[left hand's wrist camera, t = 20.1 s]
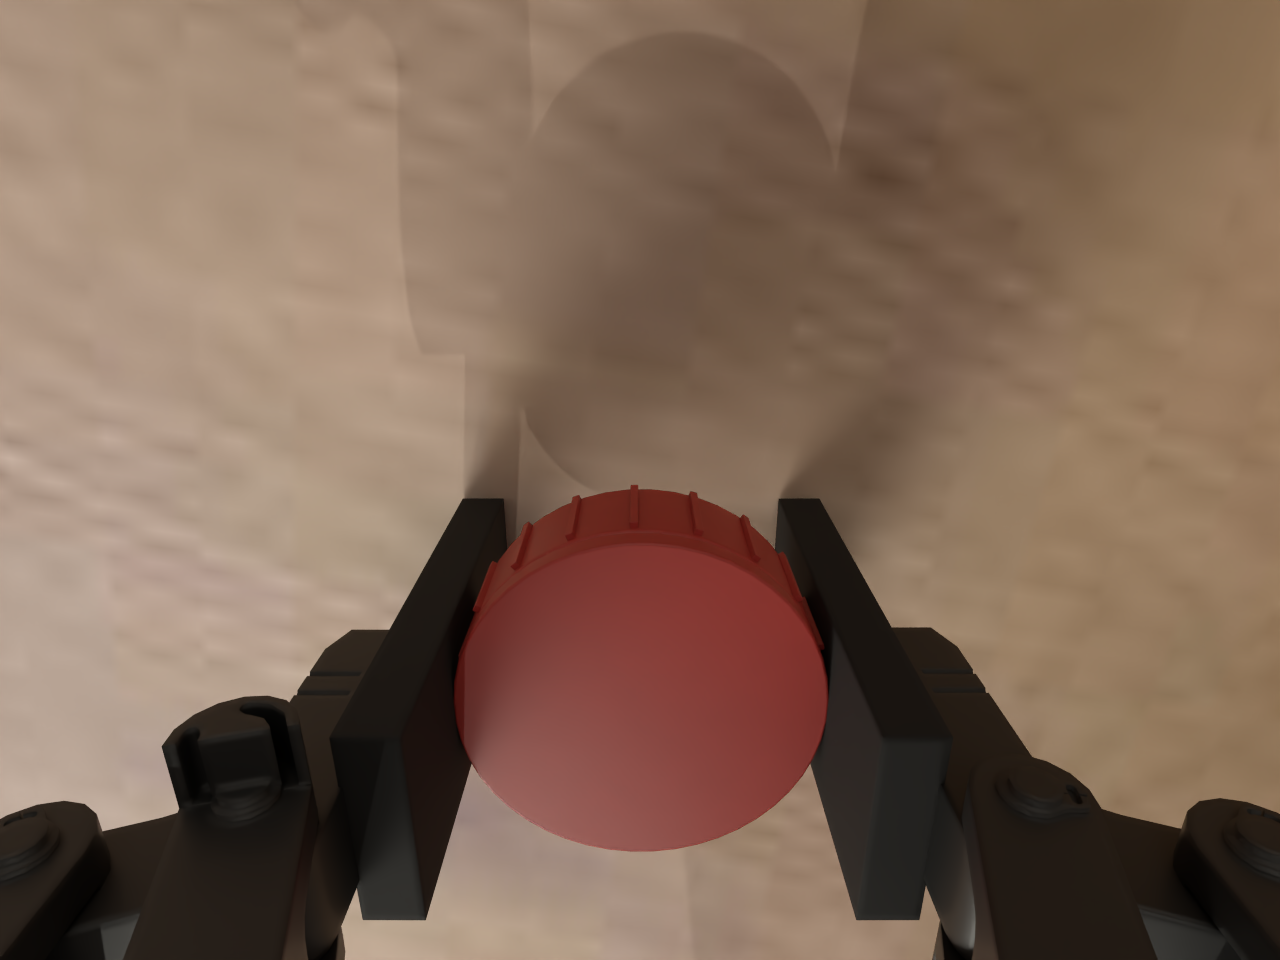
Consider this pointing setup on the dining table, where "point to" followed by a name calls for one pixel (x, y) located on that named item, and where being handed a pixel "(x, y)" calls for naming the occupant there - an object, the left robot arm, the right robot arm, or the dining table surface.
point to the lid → (641, 673)
